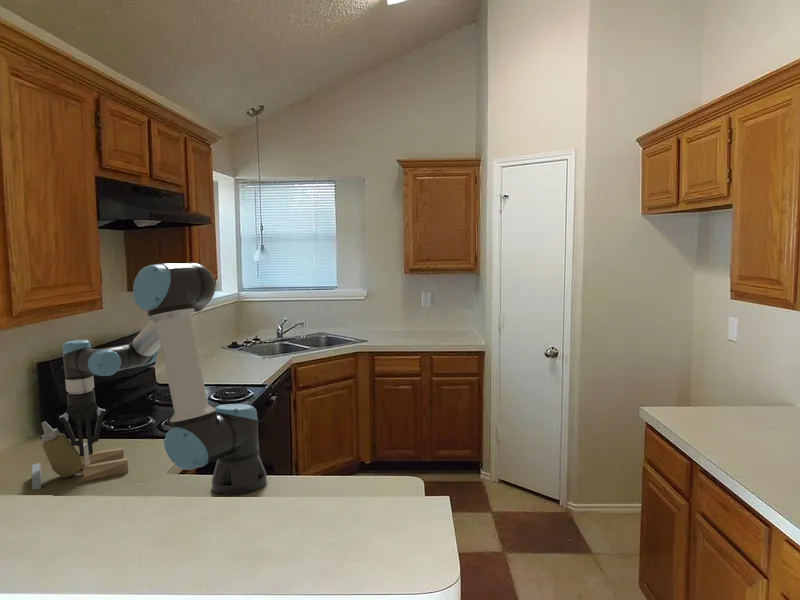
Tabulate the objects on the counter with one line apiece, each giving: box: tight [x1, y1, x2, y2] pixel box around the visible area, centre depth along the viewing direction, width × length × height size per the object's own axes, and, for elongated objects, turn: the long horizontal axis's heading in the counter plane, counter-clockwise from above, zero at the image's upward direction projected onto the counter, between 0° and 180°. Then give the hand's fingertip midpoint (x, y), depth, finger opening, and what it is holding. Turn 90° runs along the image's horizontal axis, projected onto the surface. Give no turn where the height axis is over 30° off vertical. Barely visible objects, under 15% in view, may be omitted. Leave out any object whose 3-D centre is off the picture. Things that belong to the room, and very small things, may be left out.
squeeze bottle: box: [40, 421, 82, 479], centre depth 176 cm, size 8×8×18 cm
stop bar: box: [31, 462, 42, 491], centre depth 173 cm, size 12×2×4 cm, turn 31°
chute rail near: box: [82, 457, 129, 482], centre depth 177 cm, size 2×12×4 cm, turn 121°
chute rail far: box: [81, 447, 125, 470], centre depth 187 cm, size 2×12×4 cm, turn 121°
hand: (87, 465), depth 180 cm, fingers closed
